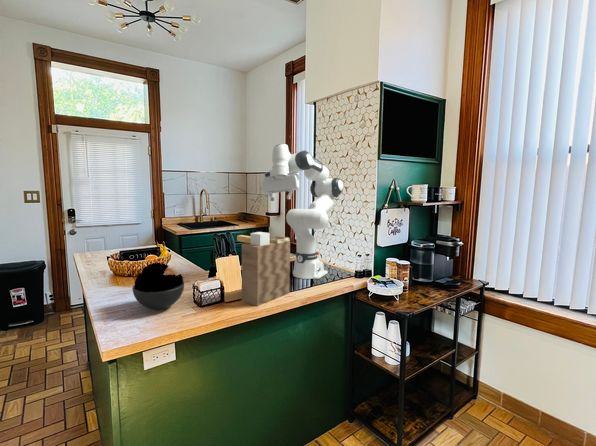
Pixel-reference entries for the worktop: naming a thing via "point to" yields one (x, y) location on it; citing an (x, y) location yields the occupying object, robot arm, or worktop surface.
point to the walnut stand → (265, 271)
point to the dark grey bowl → (157, 287)
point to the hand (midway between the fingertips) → (280, 200)
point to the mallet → (255, 238)
